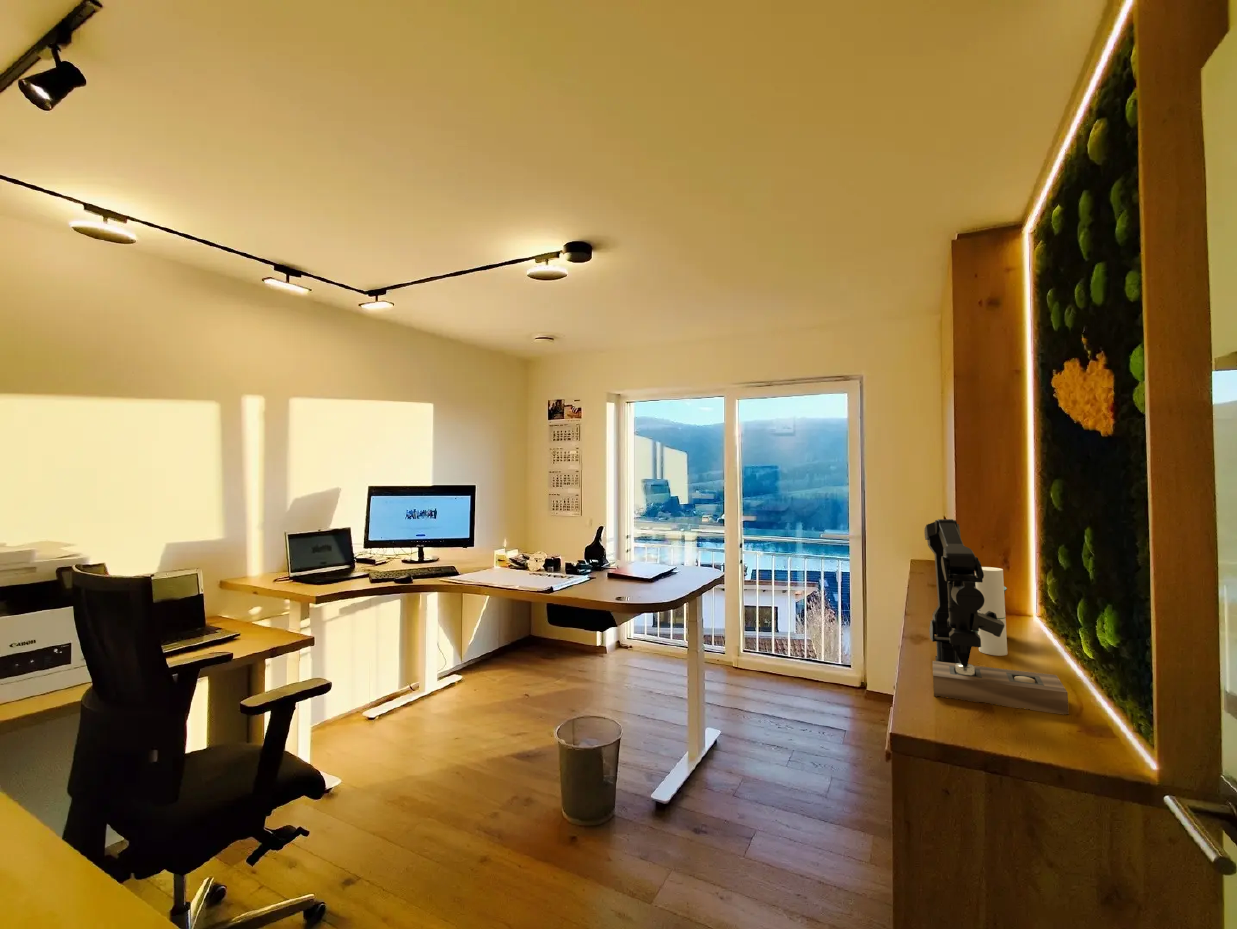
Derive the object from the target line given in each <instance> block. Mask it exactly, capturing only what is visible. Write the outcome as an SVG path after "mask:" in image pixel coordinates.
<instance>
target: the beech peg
mask: <svg viewBox="0 0 1237 929" xmlns="http://www.w3.org/2000/svg"><path fill="white" fill-rule="evenodd" d="M1014 681H1021V682H1029V683H1035V680H1034V679H1032V678H1029V677H1024V676H1016V677H1014Z"/></svg>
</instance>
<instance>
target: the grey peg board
mask: <svg viewBox="0 0 1237 929" xmlns="http://www.w3.org/2000/svg"><path fill="white" fill-rule="evenodd" d="M955 664H956V663H947V662H938V661H936V660H932V682H933V696H934V697H937V696H942V697H941V698H944V697H948V698H947V699H951V698H955V699H954V700H958V699H962V700H961V701H965V700H968V701H967V702H972V701H975V702H974V703H979V702H986V703H991V704H990V705H993V704H997V705H996V706H1000V705H1002V707H1009V708H1014V709H1015V708H1017V709H1021V708H1025V709H1024V710H1028V709H1030V711H1035V712H1036V711H1037V712H1043V713H1050V714H1058V715H1064V714H1069V711H1070V709H1069V695H1068V694H1069V692H1068V691H1067V689H1066V688H1065V686H1064V685H1063V683H1062V682H1061V680H1060V679H1059V677H1058V675H1057V674H1049V673H1041V672H1032V671H1025V670H1015V669H1007V668H997V667H989V666H979V665H973V666H974V670H975V676H972V675H964V674H956V667H955ZM1016 676H1024V677H1029V678H1032V679H1034V680H1035V683H1029V682H1021V681H1014V677H1016ZM986 703H985V704H986ZM1069 715H1070V714H1069Z"/></svg>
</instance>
